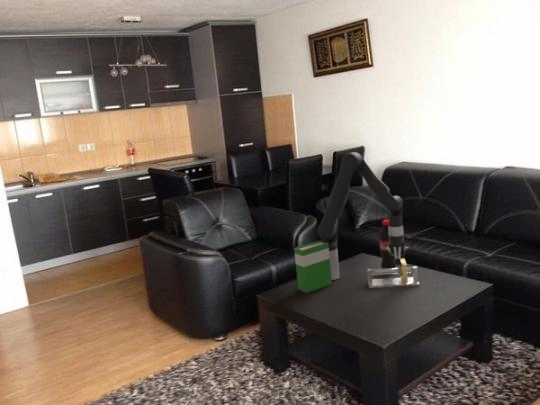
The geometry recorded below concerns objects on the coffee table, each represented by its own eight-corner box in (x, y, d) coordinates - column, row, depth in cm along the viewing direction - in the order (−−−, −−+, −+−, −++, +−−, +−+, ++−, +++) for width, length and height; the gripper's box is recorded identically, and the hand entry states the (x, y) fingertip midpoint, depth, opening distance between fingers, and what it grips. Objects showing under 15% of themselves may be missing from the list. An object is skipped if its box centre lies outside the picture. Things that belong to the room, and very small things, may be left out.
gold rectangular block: (403, 282, 267) (402, 264, 265) (400, 276, 276) (399, 258, 274) (407, 282, 266) (406, 264, 264) (405, 275, 276) (404, 258, 274)
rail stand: (369, 288, 270) (368, 272, 268) (367, 281, 279) (366, 266, 278) (419, 285, 266) (418, 270, 264) (416, 278, 276) (415, 263, 274)
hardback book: (323, 280, 287) (319, 240, 282) (331, 284, 281) (328, 242, 276) (298, 289, 278) (294, 248, 273) (306, 293, 272) (302, 250, 267)
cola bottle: (378, 269, 295) (375, 220, 289) (391, 266, 297) (388, 217, 291) (386, 274, 287) (382, 223, 281) (399, 271, 289) (396, 220, 283)
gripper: (383, 236, 264) (385, 268, 267) (409, 234, 262) (411, 266, 265) (382, 232, 271) (384, 263, 275) (407, 230, 269) (409, 261, 273)
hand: (397, 264), depth 270 cm, fingers closed
